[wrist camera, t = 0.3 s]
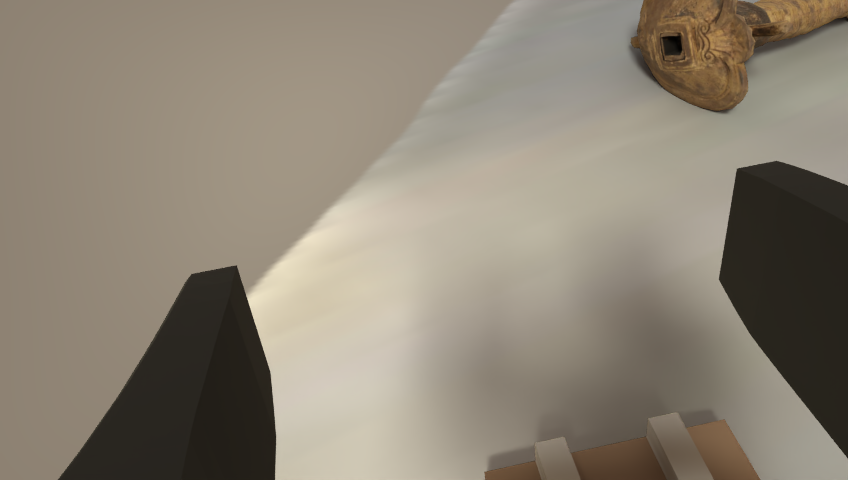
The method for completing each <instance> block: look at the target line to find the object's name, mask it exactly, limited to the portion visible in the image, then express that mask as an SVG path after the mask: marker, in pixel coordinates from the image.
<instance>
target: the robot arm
mask: <svg viewBox="0 0 848 480" xmlns="http://www.w3.org/2000/svg"><path fill="white" fill-rule="evenodd" d="M719 280H720V282H721V284H722V286H723V288H724V290H725V291H726V293H727V295H728V297H729V299H730V300H731V302H732V304H733V306H734V308H735V310H736V311H737V313H738V315H739V316H740V318H741V320H742V321H743V323H744V325H745V326H746V328H747V330H748V331H749V333H750V334H751V336H752V337H753V339H754V340H755V341H756V343H757V344H758V345H759V347H760V348H761V349H762V350H763V352H764V353H765V354H766V356H767V357H768V358H769V359H770V361H771V362H772V363H773V365H774V366H775V367H776V368H777V370H778V371H779V372H780V374H781V375H782V376H783V377H784V379H785V380H786V381H787V382H788V384H789V385H790V386H791V387H792V389H793V390H794V391H795V393H796V394H797V395H798V396H799V398H800V399H801V400H802V401H803V403H804V404H805V405H806V406H807V408H808V409H809V410H810V411H811V413H812V414H813V415H814V416H815V418H816V419H817V420H818V421H819V423H820V424H821V425H822V426H823V428H824V429H825V430H826V431H827V433H828V434H829V435H830V436H831V438H832V439H833V440H834V442H835V443H836V444H837V445H838V447H839V448H840V449H841V450H842V452H843V453H844V454H845V455H846V457H847V458H848V186H847V185H845V184H842V183H840V182H837V181H835V180H832V179H829V178H827V177H824V176H821V175H818V174H816V173H813V172H810V171H807V170H805V169H802V168H799V167H796V166H792V165H789V164H786V163H782V162H779V161H774V162H769V163H764V164H758V165H753V166H748V167H743V168H738V169H737V172H736V178H735V184H734V190H733V196H732V202H731V208H730V215H729V221H728V227H727V233H726V239H725V245H724V251H723V258H722V264H721V270H720V276H719ZM275 459H276V430H275V417H274V406H273V395H272V384H271V374H270V370H269V366H268V363H267V360H266V357H265V354H264V351H263V347H262V344H261V341H260V338H259V335H258V332H257V329H256V325H255V322H254V319H253V316H252V313H251V310H250V306H249V303H248V300H247V297H246V294H245V291H244V287H243V284H242V281H241V278H240V275H239V272H238V268H237V266H231V267H226V268H221V269H216V270H211V271H205V272H200V273H195V274H191V276H190V277H189V278H188V280H187V281H186V282H185V284H184V286H183V288H182V289H181V291H180V293H179V295H178V297H177V298H176V300H175V302H174V304H173V306H172V307H171V309H170V311H169V313H168V315H167V316H166V318H165V320H164V322H163V323H162V325H161V327H160V329H159V331H158V332H157V334H156V335H155V337H154V339H153V341H152V342H151V344H150V346H149V347H148V349H147V351H146V352H145V354H144V356H143V357H142V359H141V360H140V362H139V364H138V365H137V367H136V368H135V370H134V372H133V373H132V375H131V377H130V378H129V380H128V381H127V383H126V385H125V386H124V388H123V389H122V391H121V393H120V394H119V396H118V397H117V399H116V400H115V401H114V403H113V404H112V406H111V407H110V409H109V410H108V412H107V413H106V414H105V416H104V417H103V419H102V420H101V422H100V423H99V425H98V426H97V427H96V429H95V430H94V432H93V433H92V434H91V436H90V437H89V439H88V440H87V442H86V443H85V444H84V446H83V447H82V449H81V450H80V452H79V453H78V454H77V456H76V457H75V458H74V459H73V461H72V462H71V463H70V465H69V466H68V467H67V469H66V470H65V471H64V473H63V474H62V475H61V476H60V478H59V479H58V480H275Z"/></svg>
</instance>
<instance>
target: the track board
mask: <svg viewBox="0 0 848 480" xmlns="http://www.w3.org/2000/svg"><path fill="white" fill-rule="evenodd" d="M484 473H485V480H760V478H759V477H758V475H757V473H756V472H755V470H754V468H753V467H752V465H751V463H750V462H749V460H748V458H747V457H746V455H745V453H744V452H743V450H742V448H741V446H740V445H739V443H738V441H737V440H736V438H735V436H734V435H733V433H732V431H731V430H730V428H729V426H728V425H727V423H726V421H725V420H720V421H715V422H711V423H706V424H701V425H697V426H692V427H688V428H686V427H685V425H684V423H683V421H682V420H681V418H680V416H679V414H678V412H674V413H670V414H665V415H661V416H656V417H651V418H648V423H647V433H646V437H642V438H637V439H633V440H628V441H624V442H619V443H615V444H610V445H605V446H601V447H596V448H592V449H587V450H583V451H578V452H573V453H570V450H569V447H568V445H567V442H566V439H565V437H560V438H555V439H550V440H546V441H541V442H537V443H535V461H532V462H528V463H523V464H519V465H514V466H510V467H505V468H500V469H496V470H491V471H487V472H484Z"/></svg>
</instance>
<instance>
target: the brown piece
mask: <svg viewBox="0 0 848 480" xmlns="http://www.w3.org/2000/svg"><path fill="white" fill-rule="evenodd" d="M843 17H847V19H848V0H761V1H758V2H756V3H754V4H753V3H749V2H745V1H738V0H644V1H643V5H642V8H641V12H640V21H639V24H638V29H637V34H638V36H637V37H633V38H631V44H632V45H633V47H634V48H640V49H641V52H642V55H643V57H644V60H645V62H646V63H647V65H648V67H649V68H650V70H651V72H652V74H653V76H654V77H655V78H656V80H657V81H658V82H659V83H660V84H661V85H662V86H663V87H664V89H666V90H667V91H669V92H670V93H672V94H673V95H675V96H676V97H678V98H680V99H682V100H684V101H686V102H688V103H690V104H692V105H695V106H698V107H701V108H705V109H710V110H714V111H719V110H725V109H732V108H734V107H735V106H736V105H737V104H739V103H740V102H741V101H742V100H743V98H744V97H745V95H746V93H747V92H748V79H747V73H746V68H745V65H744V62H745V61H747V60H748V59H749V58H750V57H751V56H752V55H753V49H754V48H756V47H759V46H762V45H764V44H765V43H767V42H771V41H773V42H775V41H779V40H783V39H786V38H793V37H796V36H798V35H802V34H806V33H808V32H810V31H812V30H813V29H815V28H819V27H821V26H823V25H825V24H827V23H829V22H831V21H832V20H834V19H836V18H843Z"/></svg>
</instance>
